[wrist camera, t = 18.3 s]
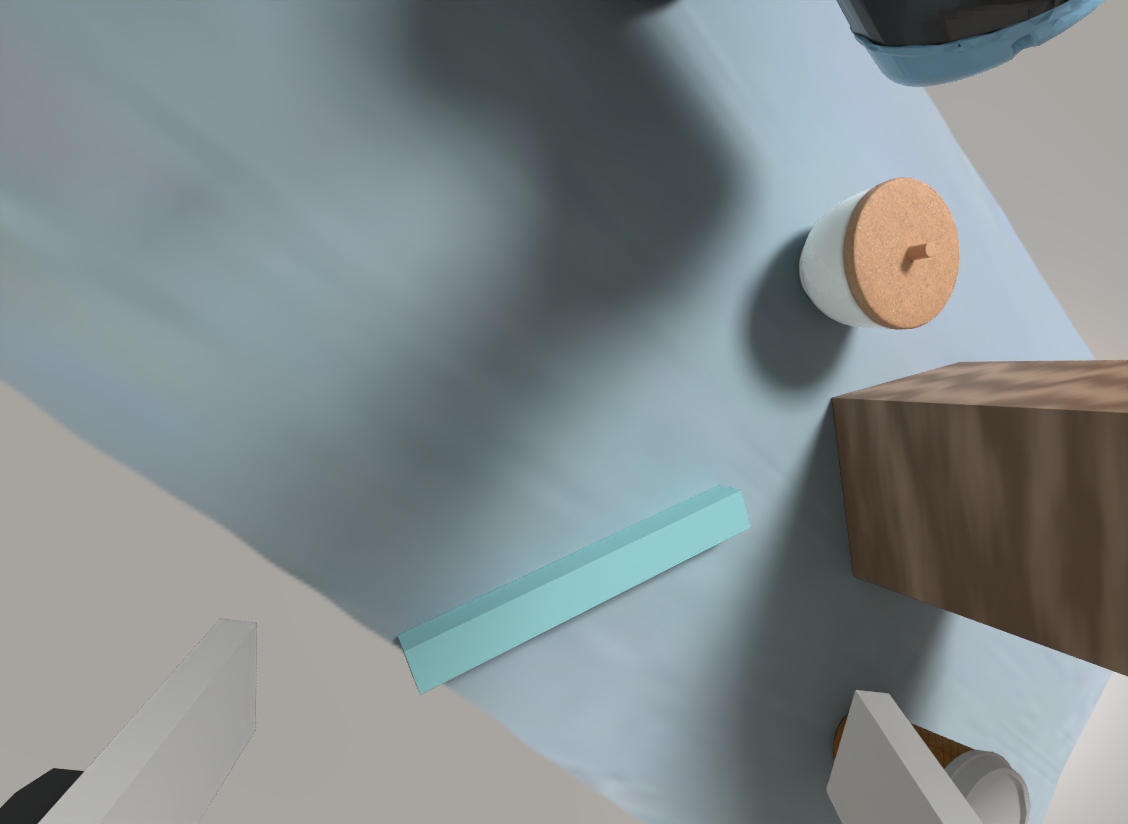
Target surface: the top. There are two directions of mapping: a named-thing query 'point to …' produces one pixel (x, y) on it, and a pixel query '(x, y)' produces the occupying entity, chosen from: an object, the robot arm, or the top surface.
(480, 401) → the top surface
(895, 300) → the lidded jar
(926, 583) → the stand
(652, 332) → the top surface
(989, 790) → the disposable coffee cup
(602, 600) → the bar
